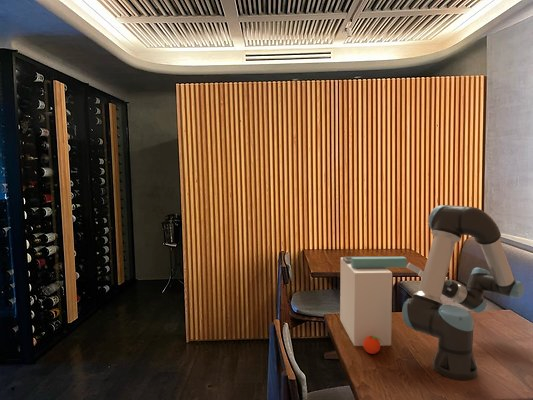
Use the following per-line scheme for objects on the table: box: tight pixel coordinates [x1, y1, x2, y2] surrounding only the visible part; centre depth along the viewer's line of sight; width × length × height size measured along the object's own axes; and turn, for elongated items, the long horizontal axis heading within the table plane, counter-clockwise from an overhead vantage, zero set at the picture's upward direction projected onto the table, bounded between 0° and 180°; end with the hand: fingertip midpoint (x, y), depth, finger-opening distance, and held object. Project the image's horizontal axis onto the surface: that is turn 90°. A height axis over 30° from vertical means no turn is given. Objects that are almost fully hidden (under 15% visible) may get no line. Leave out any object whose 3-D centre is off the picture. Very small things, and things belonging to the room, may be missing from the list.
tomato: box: [362, 336, 381, 355], centre depth 167 cm, size 8×7×7 cm
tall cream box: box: [339, 256, 393, 347], centre depth 188 cm, size 16×30×34 cm, turn 1°
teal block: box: [350, 256, 408, 269], centre depth 181 cm, size 24×4×4 cm, turn 91°
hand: (413, 268), depth 182 cm, fingers open, 13 cm apart
